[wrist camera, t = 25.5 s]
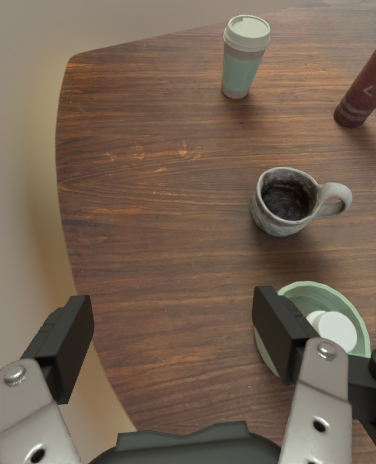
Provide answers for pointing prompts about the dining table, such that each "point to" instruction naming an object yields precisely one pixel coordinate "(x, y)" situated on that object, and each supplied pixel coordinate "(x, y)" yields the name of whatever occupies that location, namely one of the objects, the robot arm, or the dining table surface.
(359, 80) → the can
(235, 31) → the coffee cup
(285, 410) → the dining table surface
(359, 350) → the bowl
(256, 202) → the mug
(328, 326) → the pill bottle
